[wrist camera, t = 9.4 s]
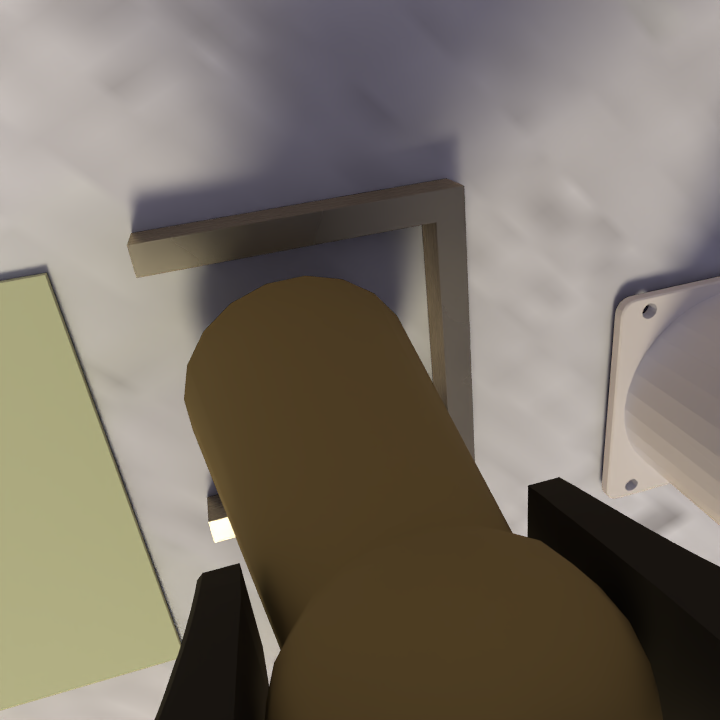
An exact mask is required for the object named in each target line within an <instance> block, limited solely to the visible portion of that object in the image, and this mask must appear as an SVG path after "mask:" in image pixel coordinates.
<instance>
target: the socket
mask: <svg viewBox="0 0 720 720" xmlns="http://www.w3.org/2000/svg"><path fill="white" fill-rule="evenodd" d="M418 225H422V233H423V247H424V261H425V275H426V289H427V303H428V317H429V332H430V346H431V360H432V374H433V384H434V386H435V388H436V390H437V392H438V394H439V396H440V398H441V399H442V401H443V403H444V405H445V407H446V409H447V411H448V413H449V415H450V416H451V418H452V420H453V422H454V424H455V426H456V428H457V430H458V431H459V433H460V435H461V437H462V439H463V441H464V443H465V445H466V446H467V448H468V450H469V452H470V454H471V456H472V458H473V460H474V462H475V456H474V430H473V404H472V378H471V352H470V325H469V299H468V273H467V247H466V221H465V195H464V186H463V185H461V184H459V183H456V182H454V181H452V180H449V179H447V178H446V179H440V180H435V181H429V182H423V183H417V184H412V185H406V186H400V187H394V188H389V189H383V190H377V191H371V192H365V193H360V194H354V195H348V196H342V197H337V198H331V199H325V200H319V201H314V202H308V203H302V204H296V205H290V206H285V207H279V208H273V209H267V210H262V211H256V212H250V213H244V214H239V215H233V216H227V217H221V218H216V219H210V220H204V221H198V222H192V223H187V224H181V225H175V226H169V227H164V228H158V229H152V230H146V231H141V232H135V233H131V234H130V238H129V241H128V244H127V247H128V250H129V254H130V257H131V261H132V264H133V267H134V271H135V274H136V278H139V277H144V276H149V275H155V274H160V273H166V272H171V271H176V270H182V269H187V268H192V267H198V266H203V265H209V264H214V263H219V262H225V261H230V260H236V259H241V258H246V257H252V256H257V255H262V254H268V253H273V252H279V251H284V250H289V249H295V248H300V247H305V246H311V245H316V244H322V243H327V242H332V241H338V240H343V239H349V238H354V237H359V236H365V235H370V234H375V233H381V232H386V231H392V230H397V229H402V228H408V227H413V226H418ZM207 503H208V521H209V525H210V529H211V532H212V536H213V539H214V542H219V541H223V540H226V539H230V538H234V537H235V534H234V532H233V529H232V527H231V524H230V522H229V519H228V517H227V514H226V512H225V509H224V507H223V504H222V502H221V499H220V497H219V494H218V495H214V496H210V497H207Z"/></svg>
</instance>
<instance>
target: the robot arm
mask: <svg viewBox="0 0 720 720" xmlns="http://www.w3.org/2000/svg"><path fill="white" fill-rule="evenodd" d="M648 304H649V307H648V309H647V311H646V312H645V313H643V314H642V312H643V309H644V308H645V307H646V306H647V305H648ZM628 481H629V482H628ZM627 482H628V483H627ZM669 483H671V484H672V485H673V486H674V487H675V488H676V489H678V490H679V491H680V492H681V493H682V494H683V495H685V496H686V497H687V498H688V499H689V500H690V501H692V502H693V503H694V504H695V505H696V506H697V507H699V508H700V509H701V510H702V511H703V512H704V513H706V514H707V515H708V516H709V517H710V518H711V519H713V520H714V521H715V522H716V523H717V524H718V525H720V276H719V277H715V278H710V279H706V280H701V281H697V282H692V283H688V284H683V285H678V286H674V287H669V288H665V289H660V290H656V291H651V292H647V293H642V294H638V295H633V296H629V297H627V298H625V299H624V300H622V301H621V302H620V303H619V305H618V307H617V309H616V313H615V323H614V335H613V348H612V361H611V374H610V387H609V399H608V412H607V425H606V438H605V451H604V463H603V476H602V490H603V491H604V492H605V493H606V494H607V495H608V496H609V497H610V498H613V499H614V498H620V497H623V496H627V495H631V494H634V493H638V492H641V491H645V490H648V489H652V488H655V487H659V486H662V485H666V484H669ZM528 538H532V539H536V540H540V541H542V542H543V543H544V544H546V545H547V546H548V547H550V548H551V549H553V550H554V551H555V552H557V553H558V554H559V555H561V556H562V557H564V558H565V559H566V560H568V561H569V562H571V563H572V564H573V565H574V566H576V567H577V568H578V569H579V570H580V571H582V572H583V573H584V574H585V575H586V576H587V577H589V578H590V579H591V580H592V581H593V582H595V583H596V584H597V585H598V586H599V587H600V588H601V589H602V590H603V591H604V592H605V593H606V595H607V596H608V597H609V598H610V599H611V600H612V602H613V603H614V604H615V605H616V606H617V607H618V609H619V610H620V611H621V612H622V613H623V614H624V616H625V617H626V618H627V619H628V620H629V622H630V624H631V626H632V628H633V630H634V632H635V634H636V636H637V638H638V640H639V642H640V644H641V646H642V648H643V650H644V652H645V654H646V656H647V658H648V660H649V662H650V664H651V668H652V671H653V675H654V678H655V682H656V686H657V689H658V693H659V699H660V704H661V710H662V716H663V720H720V567H719V566H717V565H715V564H713V563H711V562H709V561H707V560H705V559H703V558H701V557H699V556H698V555H696V554H694V553H692V552H690V551H688V550H686V549H684V548H682V547H681V546H679V545H677V544H675V543H673V542H671V541H669V540H668V539H666V538H664V537H662V536H660V535H659V534H657V533H655V532H653V531H651V530H650V529H648V528H646V527H644V526H643V525H641V524H639V523H637V522H636V521H634V520H632V519H630V518H629V517H627V516H625V515H624V514H622V513H620V512H618V511H617V510H615V509H613V508H612V507H610V506H608V505H606V504H605V503H603V502H601V501H600V500H598V499H596V498H594V497H593V496H591V495H589V494H588V493H586V492H584V491H583V490H581V489H579V488H577V487H576V486H574V485H572V484H570V483H569V482H567V481H565V480H563V479H561V478H560V477H558V478H555V479H551V480H547V481H543V482H540V483H536V484H532V485H529V486H528ZM268 691H269V683H268V677H267V670H266V664H265V658H264V652H263V646H262V643H261V639H260V635H259V632H258V628H257V625H256V621H255V617H254V614H253V610H252V606H251V603H250V599H249V596H248V592H247V588H246V585H245V581H244V577H243V574H242V570H241V567H240V563H238V564H235V565H231V566H227V567H224V568H220V569H216V570H212V571H209V572H205V573H202V575H201V576H200V577H199V579H198V580H197V584H196V589H195V594H194V599H193V603H192V607H191V611H190V615H189V619H188V622H187V626H186V629H185V633H184V636H183V639H182V643H181V646H180V649H179V653H178V656H177V658H176V661H175V664H174V667H173V670H172V673H171V676H170V679H169V682H168V685H167V688H166V691H165V694H164V697H163V699H162V702H161V705H160V707H159V710H158V713H157V715H156V718H155V720H265V710H266V700H267V695H268Z"/></svg>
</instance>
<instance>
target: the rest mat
mask: <svg viewBox="0 0 720 720" xmlns="http://www.w3.org/2000/svg"><path fill="white" fill-rule="evenodd" d="M180 646H181V642H180V639H179V636H178V633H177V631H176V628H175V625H174V622H173V620H172V617H171V614H170V611H169V609H168V606H167V603H166V600H165V598H164V595H163V592H162V589H161V587H160V584H159V581H158V578H157V576H156V573H155V570H154V567H153V565H152V562H151V559H150V556H149V554H148V551H147V548H146V545H145V543H144V540H143V537H142V534H141V531H140V529H139V526H138V523H137V520H136V518H135V515H134V512H133V509H132V507H131V504H130V501H129V498H128V496H127V493H126V490H125V487H124V485H123V482H122V479H121V476H120V474H119V471H118V468H117V465H116V463H115V460H114V457H113V454H112V452H111V449H110V446H109V443H108V441H107V438H106V435H105V432H104V430H103V427H102V424H101V421H100V418H99V416H98V413H97V410H96V407H95V405H94V402H93V399H92V396H91V394H90V391H89V388H88V385H87V383H86V380H85V377H84V374H83V372H82V369H81V366H80V363H79V361H78V358H77V355H76V352H75V350H74V347H73V344H72V341H71V339H70V336H69V333H68V330H67V328H66V325H65V322H64V319H63V316H62V314H61V311H60V308H59V305H58V303H57V300H56V297H55V294H54V292H53V289H52V286H51V283H50V281H49V278H48V275H47V273H42V274H36V275H31V276H25V277H20V278H14V279H9V280H3V281H0V711H1V710H4V709H8V708H11V707H14V706H18V705H21V704H25V703H28V702H31V701H35V700H38V699H42V698H45V697H49V696H52V695H55V694H59V693H62V692H66V691H69V690H72V689H76V688H79V687H83V686H86V685H90V684H93V683H96V682H100V681H103V680H107V679H110V678H113V677H117V676H120V675H124V674H127V673H130V672H134V671H137V670H141V669H144V668H148V667H151V666H154V665H158V664H161V663H165V662H168V661H171V660H175V659H176V658H177V656H178V653H179V649H180Z"/></svg>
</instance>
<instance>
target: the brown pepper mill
mask: <svg viewBox="0 0 720 720" xmlns="http://www.w3.org/2000/svg"><path fill="white" fill-rule="evenodd" d="M184 401H185V404H186V408H187V411H188V415H189V418H190V422H191V425H192V428H193V431H194V434H195V436H196V439H197V441H198V444H199V447H200V449H201V452H202V454H203V457H204V459H205V462H206V464H207V467H208V469H209V472H210V474H211V477H212V479H213V482H214V484H215V487H216V489H217V492H218V494H219V497H220V499H221V502H222V504H223V507H224V509H225V512H226V514H227V517H228V519H229V522H230V524H231V527H232V529H233V532H234V534H235V537H236V539H237V542H238V544H239V547H240V549H241V552H242V554H243V557H244V559H245V562H246V564H247V567H248V569H249V572H250V574H251V577H252V579H253V582H254V584H255V587H256V589H257V592H258V594H259V597H260V599H261V602H262V604H263V607H264V609H265V612H266V614H267V617H268V619H269V622H270V624H271V627H272V629H273V632H274V634H275V637H276V639H277V642H278V644H279V647H280V650H281V651H280V653H279V655H278V657H277V658H276V660H275V662H274V666H273V671H272V676H271V681H270V686H269V691H268V695H267V700H266V710H265V720H663V716H662V710H661V704H660V699H659V693H658V689H657V686H656V682H655V678H654V675H653V671H652V668H651V664H650V662H649V660H648V658H647V656H646V654H645V652H644V650H643V648H642V646H641V644H640V642H639V640H638V638H637V636H636V634H635V632H634V630H633V628H632V626H631V624H630V622H629V620H628V619H627V618H626V617H625V616H624V614H623V613H622V612H621V611H620V610H619V609H618V607H617V606H616V605H615V604H614V603H613V602H612V600H611V599H610V598H609V597H608V596H607V595H606V593H605V592H604V591H603V590H602V589H601V588H600V587H599V586H598V585H597V584H596V583H595V582H593V581H592V580H591V579H590V578H589V577H587V576H586V575H585V574H584V573H583V572H582V571H580V570H579V569H578V568H577V567H576V566H574V565H573V564H572V563H571V562H569V561H568V560H566V559H565V558H564V557H562V556H561V555H559V554H558V553H557V552H555V551H554V550H553V549H551V548H550V547H548V546H547V545H546V544H544V543H543V542H542V541H540V540H536V539H532V538H528V537H524V536H521V535H517V534H513V533H512V531H511V529H510V527H509V525H508V524H507V522H506V520H505V518H504V516H503V514H502V512H501V510H500V509H499V507H498V505H497V503H496V501H495V499H494V497H493V495H492V494H491V492H490V490H489V488H488V486H487V484H486V482H485V480H484V478H483V477H482V475H481V473H480V471H479V469H478V467H477V465H476V463H475V462H474V460H473V458H472V456H471V454H470V452H469V450H468V448H467V446H466V445H465V443H464V441H463V439H462V437H461V435H460V433H459V431H458V430H457V428H456V426H455V424H454V422H453V420H452V418H451V416H450V415H449V413H448V411H447V409H446V407H445V405H444V403H443V401H442V399H441V398H440V396H439V394H438V392H437V390H436V388H435V386H434V384H433V383H432V381H431V379H430V377H429V375H428V373H427V371H426V369H425V368H424V366H423V364H422V362H421V360H420V358H419V356H418V354H417V352H416V351H415V349H414V347H413V345H412V343H411V341H410V339H409V337H408V336H407V334H406V332H405V330H404V328H403V326H402V324H401V322H400V321H399V319H398V317H397V315H396V314H395V313H394V312H392V311H391V310H390V309H389V308H388V307H387V306H386V305H385V304H384V303H383V302H382V301H381V300H380V299H379V298H378V297H377V296H376V295H375V294H374V293H372V292H370V291H367V290H365V289H363V288H361V287H359V286H356V285H354V284H352V283H350V282H347V281H345V280H343V279H334V278H324V277H313V276H301V277H297V278H292V279H287V280H282V281H278V282H273V283H268V284H265V285H263V286H262V287H260V288H258V289H256V290H254V291H252V292H251V293H249V294H247V295H245V296H243V297H242V298H240V299H238V300H236V301H234V302H232V303H231V304H230V305H229V306H228V307H227V308H226V309H225V310H224V311H223V312H222V313H221V314H220V315H219V316H218V317H217V318H216V319H215V320H214V321H213V322H212V323H211V324H210V325H209V326H208V327H207V328H206V330H205V331H204V332H203V333H202V336H201V338H200V340H199V342H198V344H197V346H196V348H195V350H194V352H193V354H192V356H191V358H190V361H189V363H188V365H187V373H186V384H185V395H184Z"/></svg>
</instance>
